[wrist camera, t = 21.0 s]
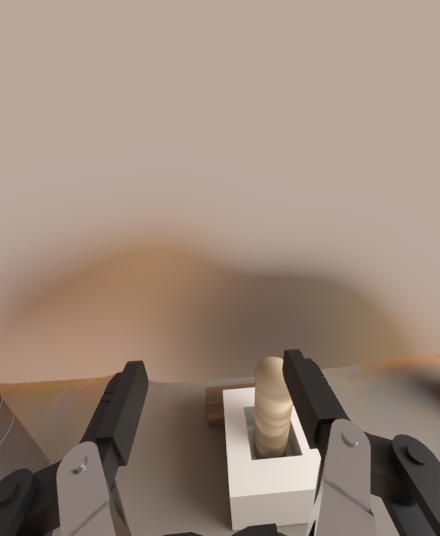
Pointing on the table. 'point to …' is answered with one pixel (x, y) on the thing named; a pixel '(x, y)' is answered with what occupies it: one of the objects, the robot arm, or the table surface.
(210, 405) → the backstop board
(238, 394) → the sliding block
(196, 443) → the table surface
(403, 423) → the table surface
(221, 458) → the table surface
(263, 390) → the wooden dowel
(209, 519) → the table surface
